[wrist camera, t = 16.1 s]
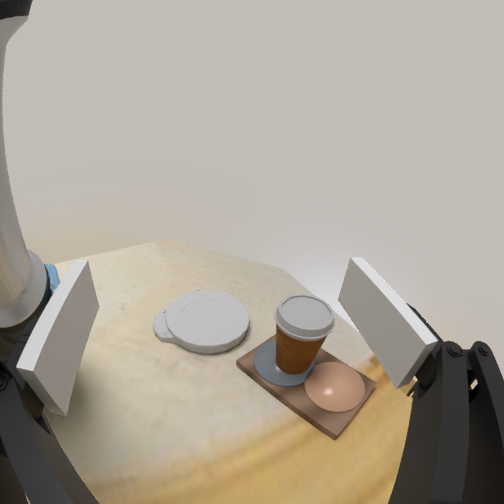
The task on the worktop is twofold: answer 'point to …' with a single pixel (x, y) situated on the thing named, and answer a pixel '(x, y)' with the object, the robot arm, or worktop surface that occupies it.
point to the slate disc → (276, 367)
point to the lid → (203, 322)
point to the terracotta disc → (334, 387)
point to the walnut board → (298, 398)
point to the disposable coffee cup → (301, 331)
